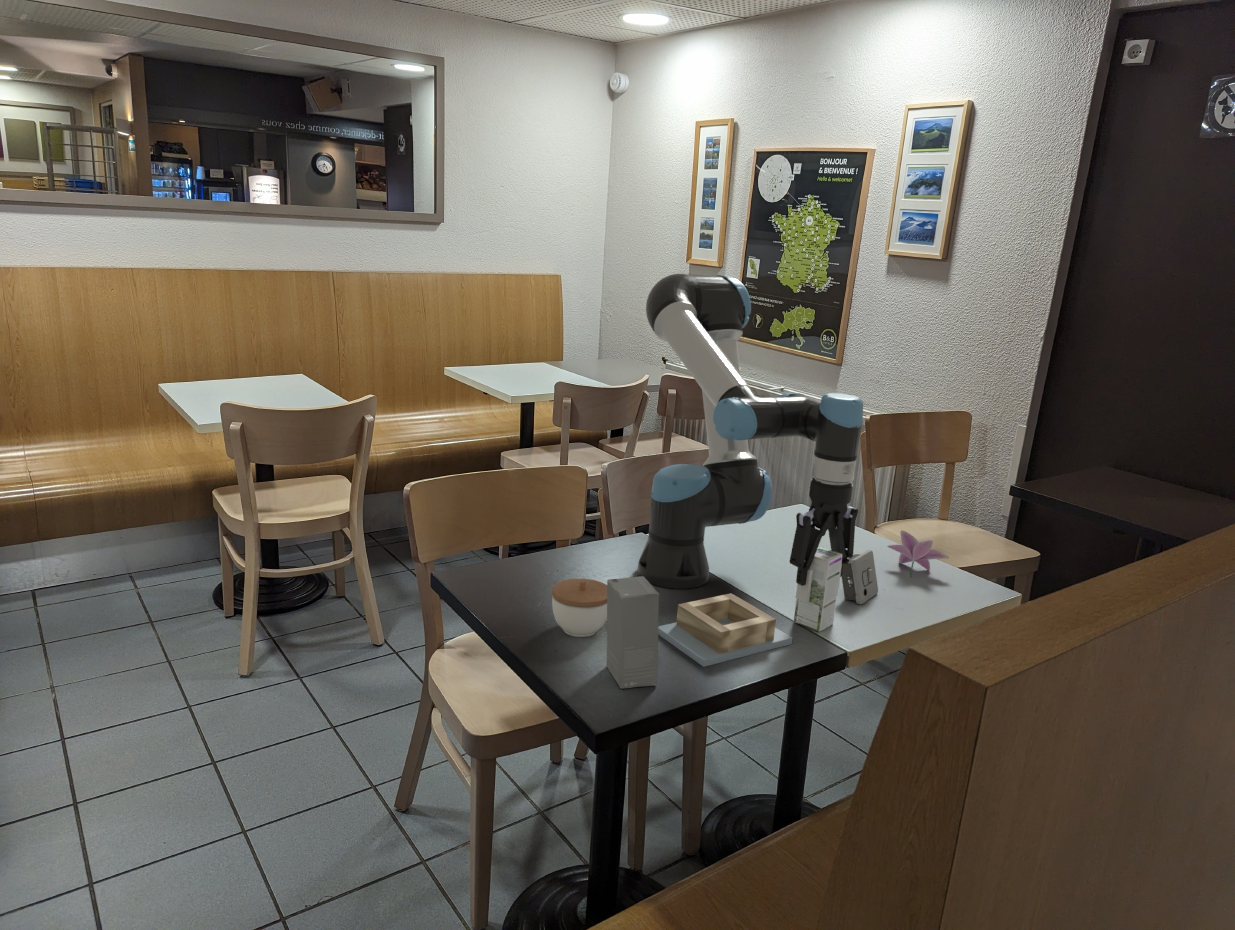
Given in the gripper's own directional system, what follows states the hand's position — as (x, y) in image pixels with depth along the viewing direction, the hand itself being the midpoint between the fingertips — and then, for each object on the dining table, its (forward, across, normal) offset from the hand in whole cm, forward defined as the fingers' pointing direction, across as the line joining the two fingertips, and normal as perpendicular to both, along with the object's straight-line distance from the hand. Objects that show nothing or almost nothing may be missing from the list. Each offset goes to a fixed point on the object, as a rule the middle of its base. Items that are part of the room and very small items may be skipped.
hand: (816, 596), depth 162 cm
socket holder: (+6, -20, +2) cm, 21 cm away
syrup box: (+6, 0, 0) cm, 6 cm away
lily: (+6, +42, +11) cm, 43 cm away
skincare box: (+6, -43, -2) cm, 43 cm away
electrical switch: (+6, +18, +6) cm, 20 cm away
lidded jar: (+6, -42, +16) cm, 45 cm away
